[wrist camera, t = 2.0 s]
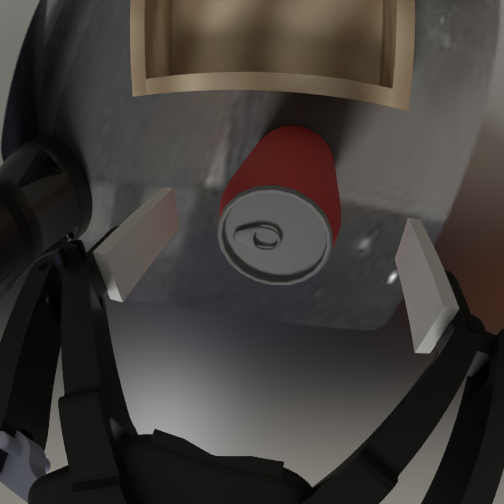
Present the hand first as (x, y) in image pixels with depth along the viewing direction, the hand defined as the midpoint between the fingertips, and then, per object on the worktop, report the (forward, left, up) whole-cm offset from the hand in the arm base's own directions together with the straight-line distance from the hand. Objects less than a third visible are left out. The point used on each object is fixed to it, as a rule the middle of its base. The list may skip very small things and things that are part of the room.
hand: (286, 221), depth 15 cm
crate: (-2, +16, -10) cm, 19 cm away
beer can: (0, 0, -10) cm, 10 cm away
